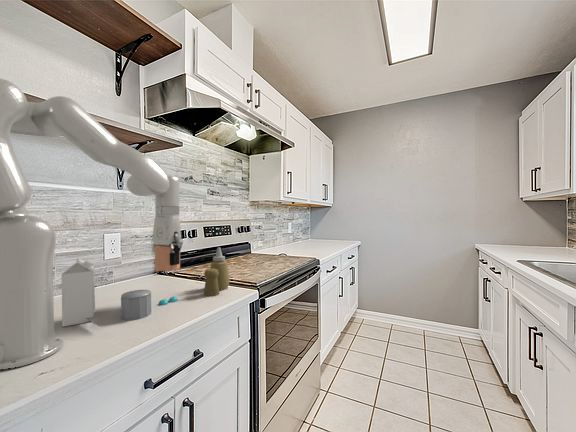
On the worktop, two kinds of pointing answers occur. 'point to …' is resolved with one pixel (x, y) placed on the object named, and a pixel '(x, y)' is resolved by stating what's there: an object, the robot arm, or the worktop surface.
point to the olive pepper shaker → (211, 283)
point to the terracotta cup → (164, 259)
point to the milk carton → (78, 293)
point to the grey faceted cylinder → (135, 304)
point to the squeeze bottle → (221, 269)
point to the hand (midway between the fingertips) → (167, 263)
